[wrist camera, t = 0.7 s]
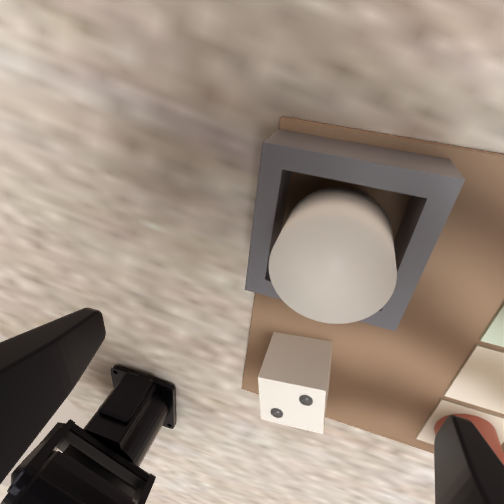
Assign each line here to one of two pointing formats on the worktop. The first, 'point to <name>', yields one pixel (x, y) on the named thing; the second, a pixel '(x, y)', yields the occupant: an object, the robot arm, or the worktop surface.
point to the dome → (335, 257)
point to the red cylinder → (485, 430)
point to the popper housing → (362, 173)
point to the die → (295, 381)
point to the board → (412, 309)
